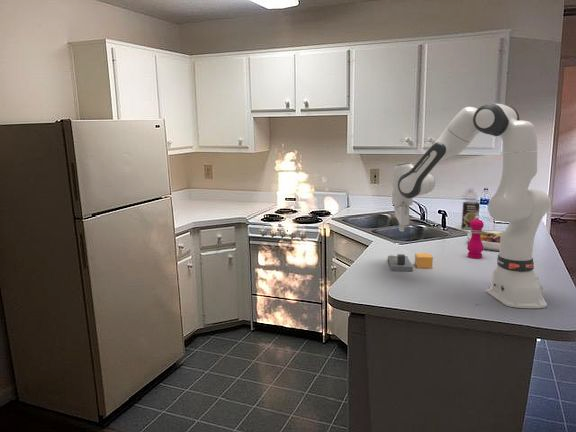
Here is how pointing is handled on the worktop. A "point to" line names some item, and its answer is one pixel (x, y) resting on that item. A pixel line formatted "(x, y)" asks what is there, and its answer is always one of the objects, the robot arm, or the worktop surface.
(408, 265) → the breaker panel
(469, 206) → the coffee box
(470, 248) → the pepper mill
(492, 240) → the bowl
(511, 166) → the robot arm
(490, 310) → the worktop surface
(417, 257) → the orange block
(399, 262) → the handle
